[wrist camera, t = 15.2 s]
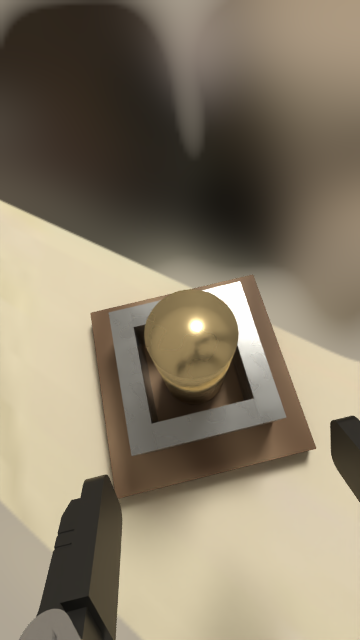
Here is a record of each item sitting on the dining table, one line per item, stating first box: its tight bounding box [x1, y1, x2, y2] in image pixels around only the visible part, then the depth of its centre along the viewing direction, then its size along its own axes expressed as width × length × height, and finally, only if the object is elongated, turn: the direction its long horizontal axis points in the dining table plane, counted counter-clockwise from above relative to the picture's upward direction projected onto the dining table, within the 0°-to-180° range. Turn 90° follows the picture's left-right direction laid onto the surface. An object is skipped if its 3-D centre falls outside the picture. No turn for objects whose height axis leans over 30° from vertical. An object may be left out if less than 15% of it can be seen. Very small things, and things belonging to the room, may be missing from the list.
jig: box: [91, 275, 316, 498], centre depth 23 cm, size 14×14×6 cm
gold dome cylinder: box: [144, 289, 239, 405], centre depth 20 cm, size 4×4×10 cm
